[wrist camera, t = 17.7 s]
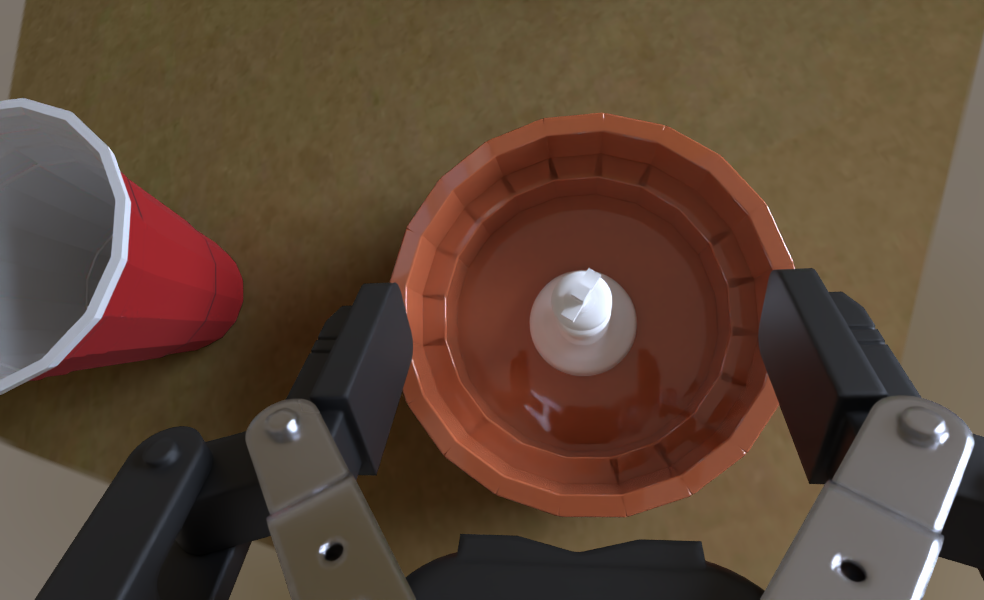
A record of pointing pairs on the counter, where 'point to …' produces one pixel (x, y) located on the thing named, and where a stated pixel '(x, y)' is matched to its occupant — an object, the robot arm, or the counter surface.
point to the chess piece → (583, 323)
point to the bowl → (636, 268)
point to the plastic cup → (95, 257)
